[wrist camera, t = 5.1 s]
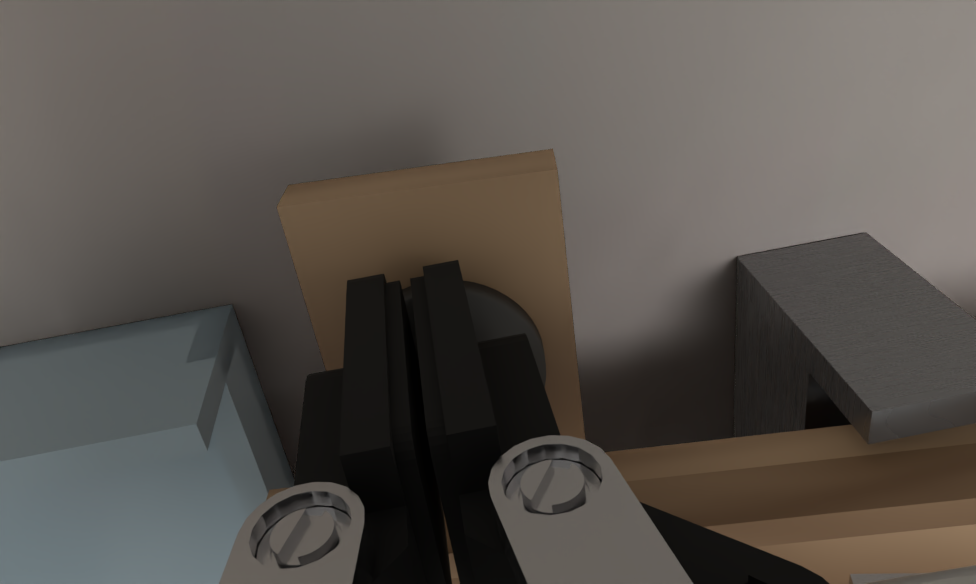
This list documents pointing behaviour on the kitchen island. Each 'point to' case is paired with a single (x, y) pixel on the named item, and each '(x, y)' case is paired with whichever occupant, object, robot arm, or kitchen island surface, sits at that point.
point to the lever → (549, 328)
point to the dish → (132, 452)
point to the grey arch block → (848, 344)
